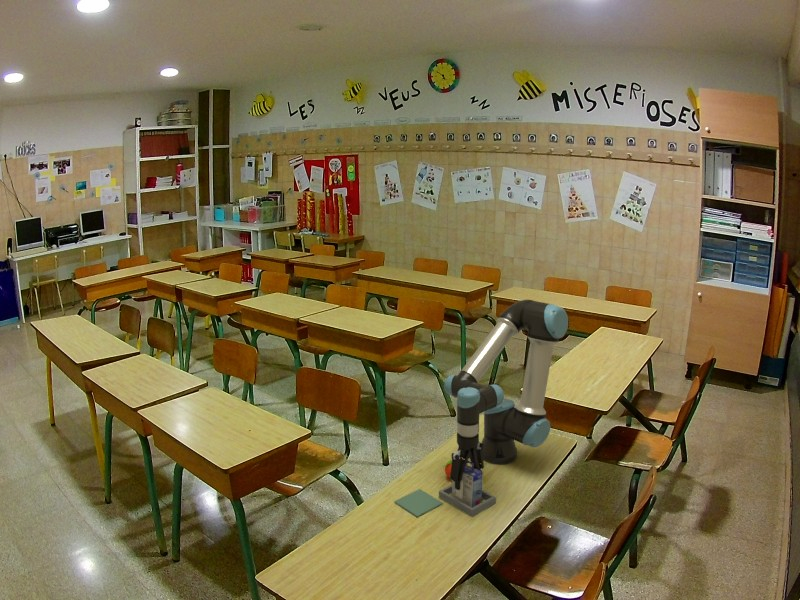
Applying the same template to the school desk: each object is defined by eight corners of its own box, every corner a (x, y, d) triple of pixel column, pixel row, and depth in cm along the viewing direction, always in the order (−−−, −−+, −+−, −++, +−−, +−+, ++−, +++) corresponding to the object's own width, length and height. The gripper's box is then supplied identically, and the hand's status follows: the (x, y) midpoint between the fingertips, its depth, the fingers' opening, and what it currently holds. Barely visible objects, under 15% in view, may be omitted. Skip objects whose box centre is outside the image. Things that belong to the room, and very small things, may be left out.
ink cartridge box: (482, 503, 214) (483, 465, 211) (472, 509, 210) (473, 471, 207) (461, 491, 221) (462, 455, 218) (451, 497, 218) (451, 460, 214)
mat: (419, 490, 223) (419, 488, 222) (442, 504, 214) (442, 502, 214) (394, 502, 215) (394, 501, 215) (417, 517, 206) (417, 516, 206)
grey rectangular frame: (462, 485, 226) (462, 479, 225) (495, 503, 214) (495, 497, 213) (438, 497, 218) (438, 491, 217) (472, 516, 206) (472, 510, 206)
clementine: (447, 484, 226) (447, 467, 224) (439, 475, 232) (439, 458, 231) (466, 480, 229) (466, 463, 227) (458, 471, 235) (458, 454, 233)
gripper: (479, 420, 219) (478, 478, 224) (439, 438, 206) (439, 498, 212) (495, 427, 213) (494, 486, 219) (455, 445, 200) (454, 508, 206)
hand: (467, 492), depth 215 cm, fingers open, 7 cm apart
